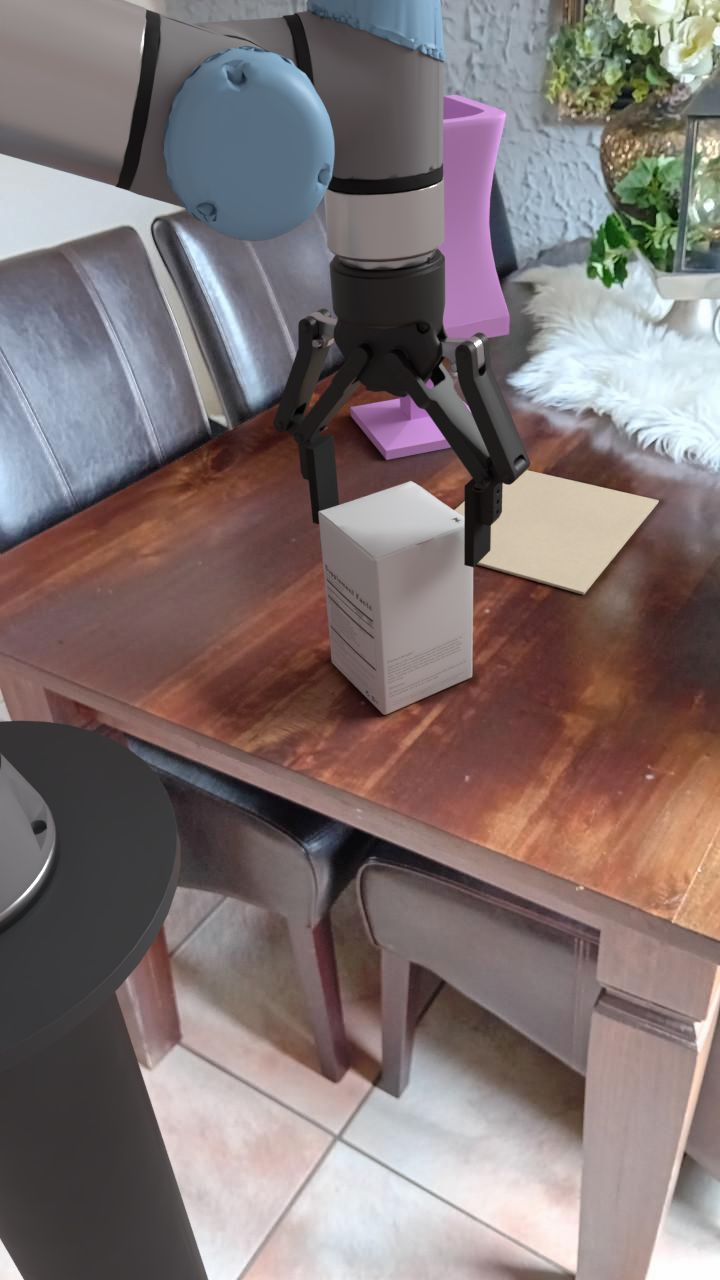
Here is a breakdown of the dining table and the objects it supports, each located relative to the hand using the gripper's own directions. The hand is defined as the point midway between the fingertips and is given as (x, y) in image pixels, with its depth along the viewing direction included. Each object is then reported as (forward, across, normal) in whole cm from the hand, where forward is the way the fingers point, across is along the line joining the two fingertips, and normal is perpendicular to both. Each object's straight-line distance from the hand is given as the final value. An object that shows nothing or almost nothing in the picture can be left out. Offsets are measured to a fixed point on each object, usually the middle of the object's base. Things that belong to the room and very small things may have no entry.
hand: (398, 536), depth 77 cm
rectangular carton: (+13, 0, 0) cm, 13 cm away
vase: (+13, +23, -43) cm, 50 cm away
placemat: (+13, 0, -28) cm, 31 cm away
